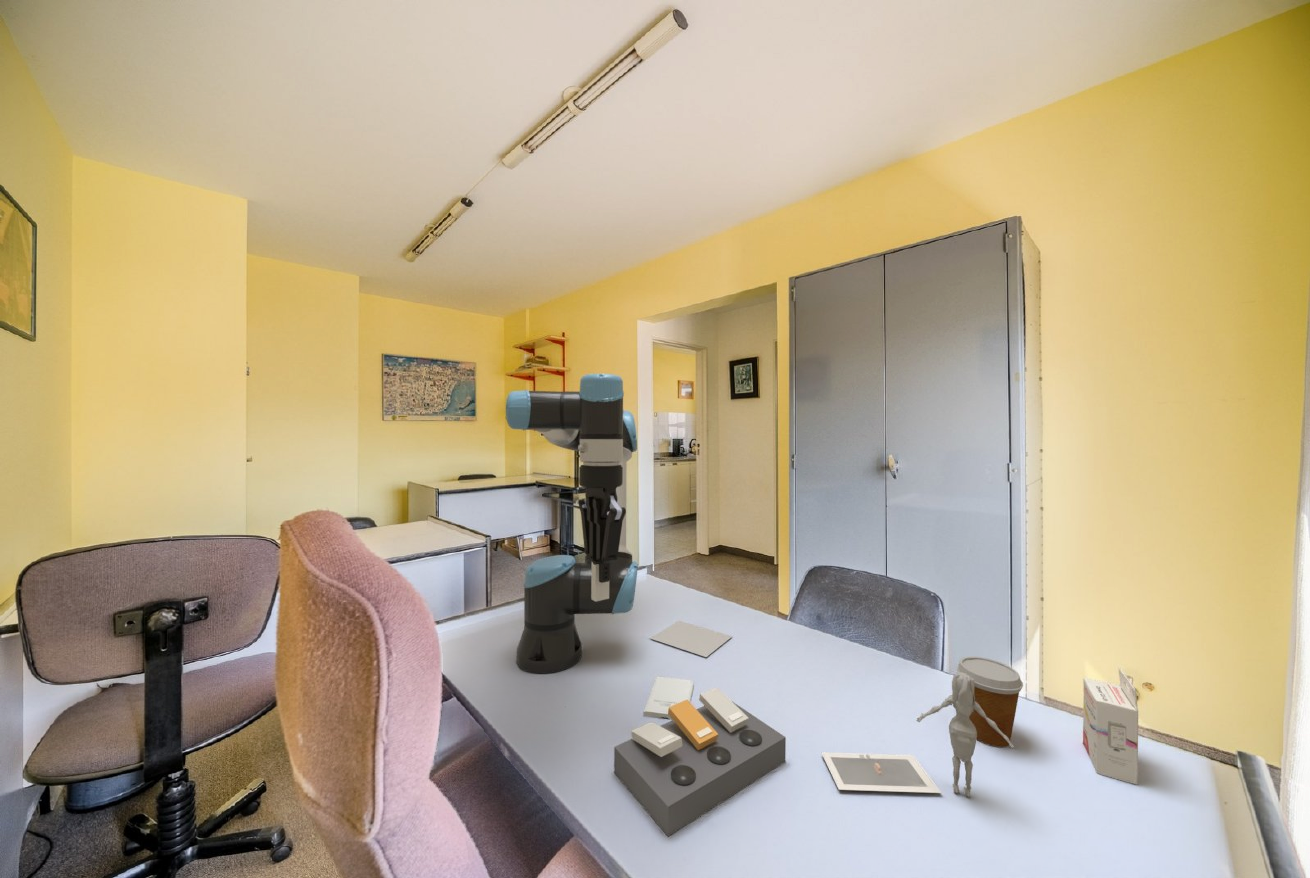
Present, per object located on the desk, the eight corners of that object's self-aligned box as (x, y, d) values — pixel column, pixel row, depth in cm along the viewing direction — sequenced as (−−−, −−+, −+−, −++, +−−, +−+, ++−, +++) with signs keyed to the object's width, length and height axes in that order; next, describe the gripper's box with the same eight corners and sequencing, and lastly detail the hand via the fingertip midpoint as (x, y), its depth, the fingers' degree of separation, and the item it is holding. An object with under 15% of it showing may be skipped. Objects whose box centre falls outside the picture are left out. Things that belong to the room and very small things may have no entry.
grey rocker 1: (632, 739, 73) (631, 729, 73) (652, 729, 75) (651, 720, 75) (661, 757, 66) (660, 746, 66) (682, 746, 68) (681, 736, 69)
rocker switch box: (614, 772, 71) (614, 744, 71) (724, 717, 85) (724, 694, 85) (667, 836, 60) (668, 804, 60) (785, 761, 74) (785, 735, 74)
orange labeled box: (667, 713, 76) (669, 706, 76) (686, 705, 79) (687, 698, 78) (698, 750, 70) (699, 742, 70) (717, 740, 72) (718, 733, 72)
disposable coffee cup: (1004, 761, 74) (1005, 688, 74) (944, 727, 83) (945, 662, 83) (1033, 743, 79) (1034, 674, 79) (973, 713, 87) (974, 651, 87)
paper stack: (695, 612, 136) (695, 610, 136) (776, 634, 122) (776, 632, 122) (649, 640, 117) (649, 638, 117) (738, 671, 103) (738, 667, 103)
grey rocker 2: (699, 699, 81) (700, 693, 80) (715, 692, 83) (716, 685, 83) (730, 733, 74) (731, 725, 74) (747, 724, 76) (748, 716, 76)
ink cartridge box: (1080, 742, 79) (1081, 658, 79) (1120, 753, 76) (1121, 666, 76) (1094, 774, 72) (1096, 681, 72) (1139, 787, 69) (1140, 691, 69)
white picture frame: (941, 800, 67) (941, 785, 67) (838, 797, 67) (839, 782, 67) (912, 761, 75) (913, 748, 75) (821, 759, 75) (821, 746, 75)
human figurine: (1010, 802, 66) (1012, 679, 66) (1015, 821, 63) (1017, 691, 62) (915, 771, 72) (916, 658, 72) (915, 787, 69) (916, 669, 68)
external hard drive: (693, 688, 96) (686, 724, 84) (655, 683, 98) (643, 718, 86) (694, 680, 96) (686, 716, 84) (656, 676, 98) (643, 710, 86)
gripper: (565, 462, 82) (564, 592, 82) (600, 466, 71) (599, 616, 72) (601, 461, 86) (601, 584, 87) (639, 465, 76) (638, 605, 76)
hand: (600, 598), depth 79 cm, fingers closed
